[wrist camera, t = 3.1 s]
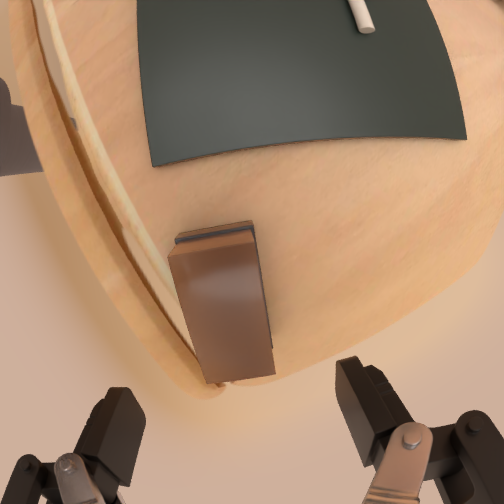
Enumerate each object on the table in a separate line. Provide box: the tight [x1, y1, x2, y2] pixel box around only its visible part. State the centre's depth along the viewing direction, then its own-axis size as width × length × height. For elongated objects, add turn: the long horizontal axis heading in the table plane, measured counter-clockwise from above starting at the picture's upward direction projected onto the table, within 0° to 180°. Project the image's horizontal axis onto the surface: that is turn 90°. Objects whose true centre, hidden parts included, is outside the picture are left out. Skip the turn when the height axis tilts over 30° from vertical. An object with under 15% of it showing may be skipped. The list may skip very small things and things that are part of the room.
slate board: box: [137, 0, 467, 167], centre depth 13 cm, size 24×20×1 cm
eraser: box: [168, 221, 276, 384], centre depth 17 cm, size 5×9×4 cm, turn 9°
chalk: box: [348, 0, 375, 33], centre depth 12 cm, size 1×4×1 cm, turn 9°
